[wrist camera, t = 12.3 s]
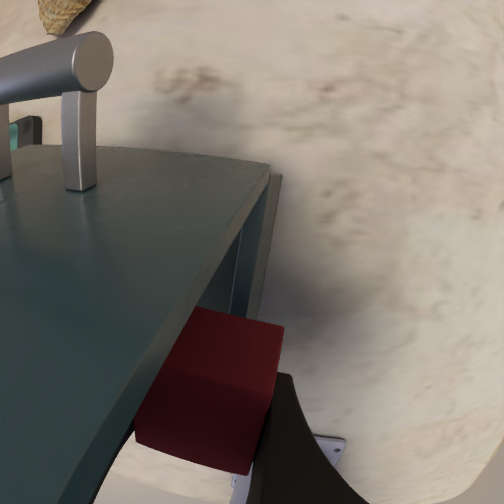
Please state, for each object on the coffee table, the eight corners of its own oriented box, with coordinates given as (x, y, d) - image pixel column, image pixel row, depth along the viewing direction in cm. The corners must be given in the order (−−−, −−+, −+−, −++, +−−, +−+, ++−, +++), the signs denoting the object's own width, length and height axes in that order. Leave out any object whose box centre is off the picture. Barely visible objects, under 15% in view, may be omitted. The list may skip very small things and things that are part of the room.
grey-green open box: (245, 378, 21) (225, 436, 15) (90, 331, 22) (45, 366, 17) (282, 174, 17) (270, 173, 12) (94, 152, 19) (34, 150, 13)
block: (264, 406, 12) (248, 477, 8) (174, 382, 13) (134, 442, 9) (285, 325, 11) (273, 394, 7) (180, 300, 12) (128, 352, 8)
